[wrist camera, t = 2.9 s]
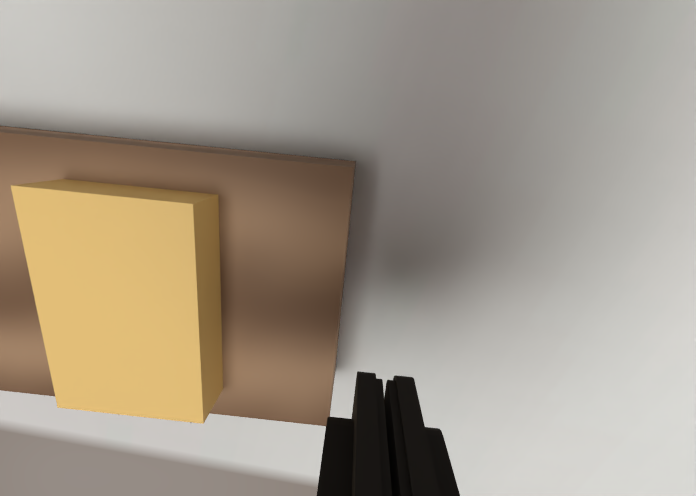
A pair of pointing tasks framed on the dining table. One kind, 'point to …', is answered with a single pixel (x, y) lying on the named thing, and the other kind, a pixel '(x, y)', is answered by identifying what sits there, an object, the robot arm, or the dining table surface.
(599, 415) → the dining table surface
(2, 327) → the brown wooden block
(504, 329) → the dining table surface
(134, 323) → the yellow rectangular block
